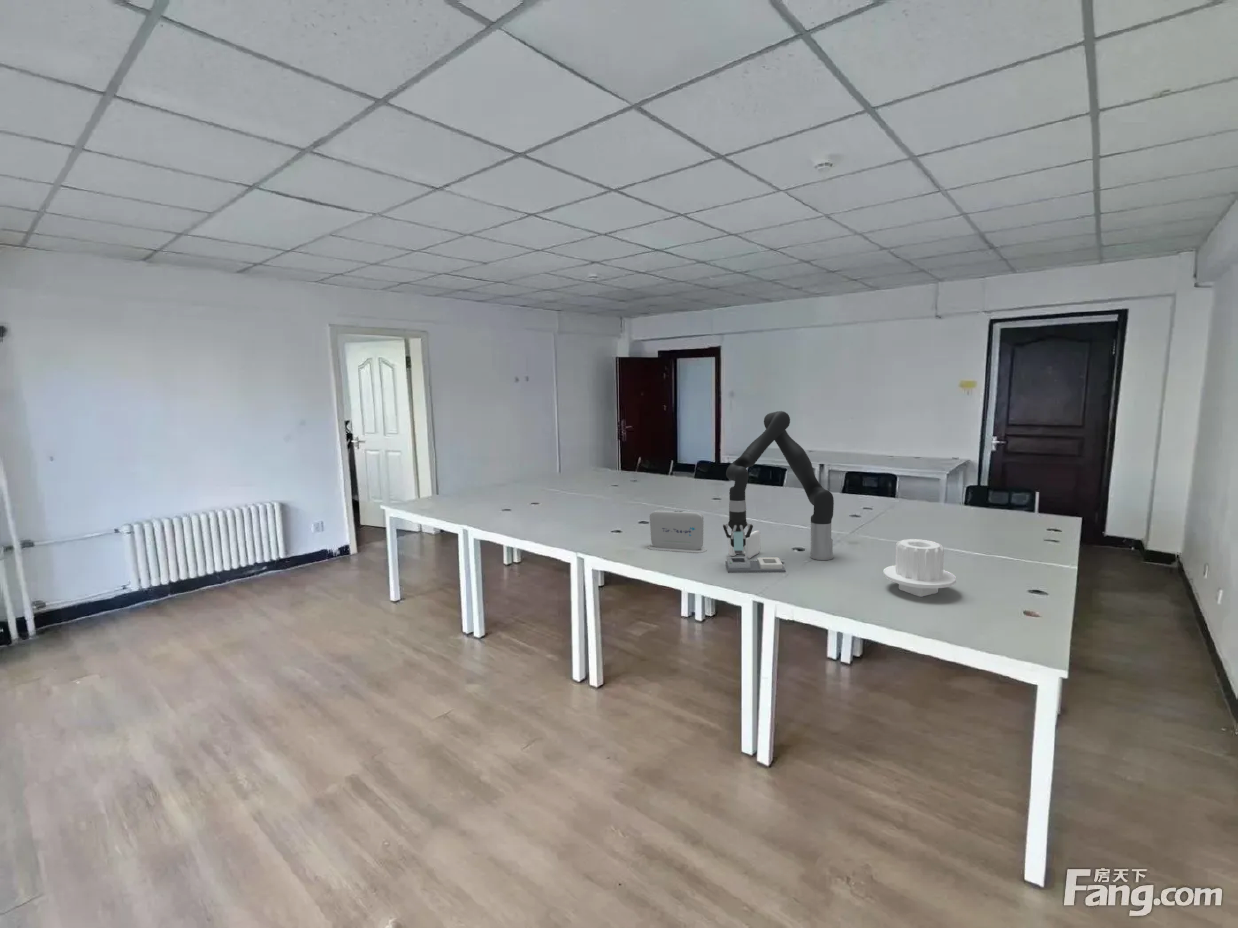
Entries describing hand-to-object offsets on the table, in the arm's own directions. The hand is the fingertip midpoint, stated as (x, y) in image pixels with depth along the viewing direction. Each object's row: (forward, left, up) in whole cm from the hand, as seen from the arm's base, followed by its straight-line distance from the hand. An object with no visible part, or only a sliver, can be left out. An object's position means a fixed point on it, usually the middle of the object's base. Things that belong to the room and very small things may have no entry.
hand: (738, 546), depth 258 cm
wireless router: (+28, -32, -10) cm, 44 cm away
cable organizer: (-5, -20, -10) cm, 23 cm away
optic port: (0, 0, -10) cm, 10 cm away
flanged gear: (-66, +31, -10) cm, 74 cm away
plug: (0, 0, -3) cm, 3 cm away
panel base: (-7, 0, -10) cm, 12 cm away
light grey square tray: (-14, 0, -10) cm, 17 cm away
